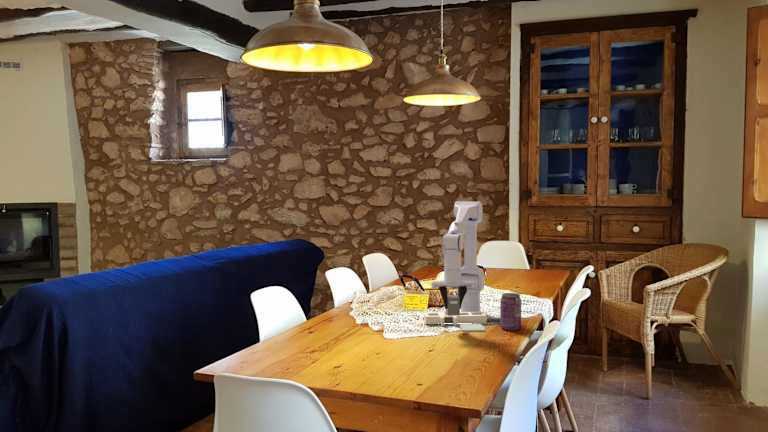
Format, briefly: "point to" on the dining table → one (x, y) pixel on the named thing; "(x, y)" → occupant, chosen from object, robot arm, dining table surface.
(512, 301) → the beverage can
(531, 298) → the dining table surface
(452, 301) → the block
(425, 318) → the power strip
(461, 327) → the coaster
